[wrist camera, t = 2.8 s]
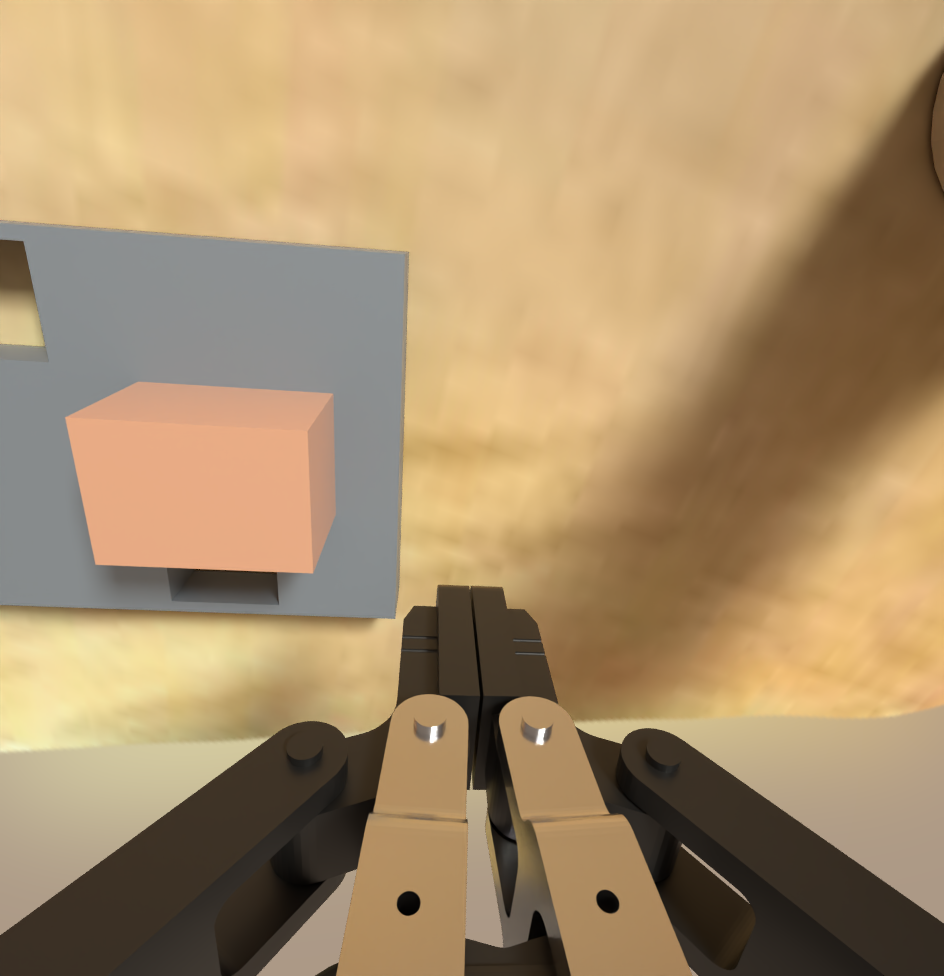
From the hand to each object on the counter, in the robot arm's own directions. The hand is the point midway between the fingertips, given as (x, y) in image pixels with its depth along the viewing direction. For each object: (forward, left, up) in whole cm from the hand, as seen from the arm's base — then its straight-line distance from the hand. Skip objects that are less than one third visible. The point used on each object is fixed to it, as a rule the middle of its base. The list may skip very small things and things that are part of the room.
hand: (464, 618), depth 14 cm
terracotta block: (+8, 0, -10) cm, 13 cm away
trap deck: (+13, 0, -13) cm, 18 cm away
